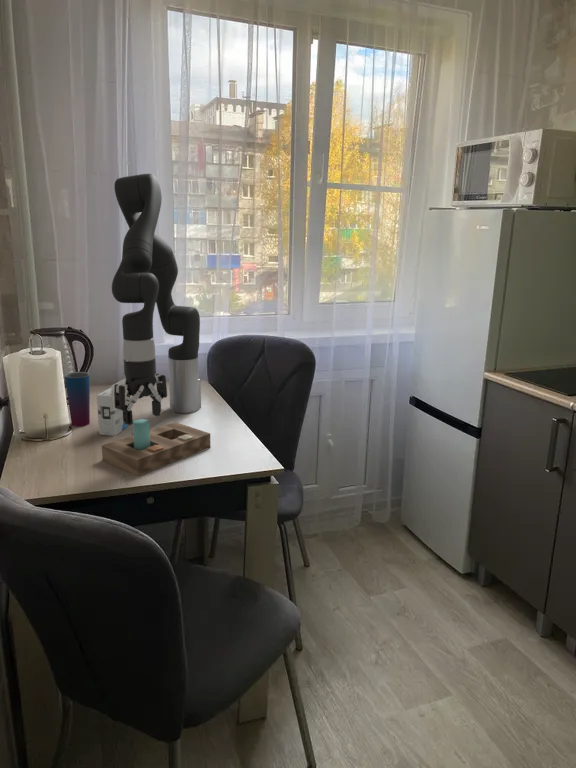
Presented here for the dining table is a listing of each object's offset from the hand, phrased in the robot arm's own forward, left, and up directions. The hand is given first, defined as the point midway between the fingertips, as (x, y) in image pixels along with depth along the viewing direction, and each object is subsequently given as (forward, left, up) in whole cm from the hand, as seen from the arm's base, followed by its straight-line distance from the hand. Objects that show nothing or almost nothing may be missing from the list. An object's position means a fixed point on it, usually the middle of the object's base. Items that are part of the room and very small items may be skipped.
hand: (142, 419), depth 144 cm
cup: (-5, -35, -11) cm, 37 cm away
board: (-5, 0, -11) cm, 12 cm away
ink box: (-8, -23, -11) cm, 27 cm away
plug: (0, 0, -11) cm, 11 cm away
